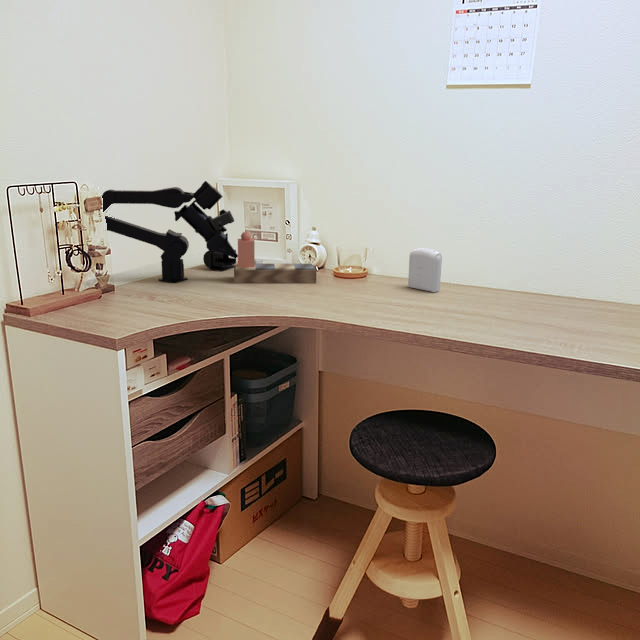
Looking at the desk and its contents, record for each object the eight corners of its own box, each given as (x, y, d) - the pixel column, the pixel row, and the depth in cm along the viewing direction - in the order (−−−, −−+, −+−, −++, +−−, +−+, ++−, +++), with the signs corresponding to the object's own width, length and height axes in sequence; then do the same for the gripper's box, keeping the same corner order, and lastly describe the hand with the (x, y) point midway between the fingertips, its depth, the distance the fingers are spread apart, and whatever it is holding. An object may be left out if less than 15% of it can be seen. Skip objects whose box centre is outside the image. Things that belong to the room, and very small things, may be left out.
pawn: (237, 267, 197) (237, 232, 194) (237, 264, 202) (237, 230, 199) (254, 267, 198) (254, 232, 195) (254, 264, 202) (254, 230, 200)
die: (255, 273, 211) (255, 261, 210) (245, 272, 213) (245, 260, 212) (262, 271, 215) (262, 259, 213) (252, 270, 216) (252, 258, 215)
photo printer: (405, 287, 197) (408, 246, 194) (414, 285, 200) (416, 245, 196) (433, 293, 190) (436, 251, 186) (441, 291, 193) (445, 249, 189)
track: (234, 283, 196) (233, 268, 195) (234, 277, 205) (234, 263, 204) (316, 283, 199) (316, 268, 198) (312, 277, 208) (313, 263, 207)
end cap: (218, 265, 225) (218, 245, 223) (236, 267, 222) (236, 247, 220) (203, 269, 216) (202, 249, 214) (221, 272, 213) (221, 251, 211)
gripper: (217, 204, 185) (256, 243, 189) (218, 198, 202) (254, 234, 207) (189, 232, 186) (229, 270, 190) (193, 224, 204) (230, 258, 208)
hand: (236, 257), depth 199 cm, fingers closed
